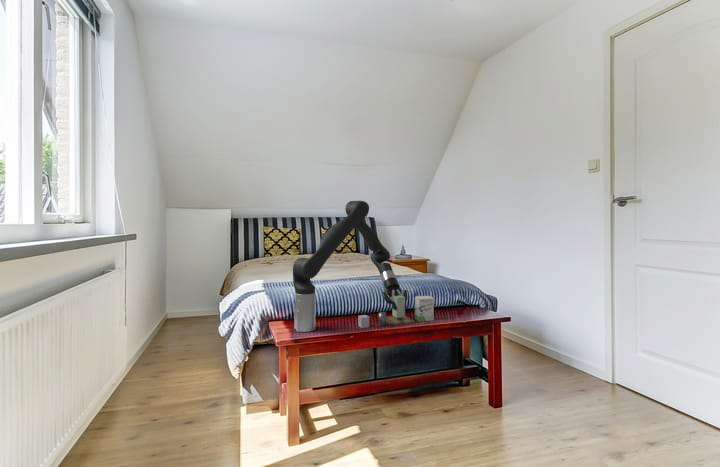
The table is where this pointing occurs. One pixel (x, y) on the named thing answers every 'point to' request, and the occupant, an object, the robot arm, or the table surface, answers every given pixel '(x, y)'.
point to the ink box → (424, 308)
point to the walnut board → (399, 320)
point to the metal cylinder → (382, 318)
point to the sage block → (399, 307)
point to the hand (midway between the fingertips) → (400, 308)
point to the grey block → (363, 321)
